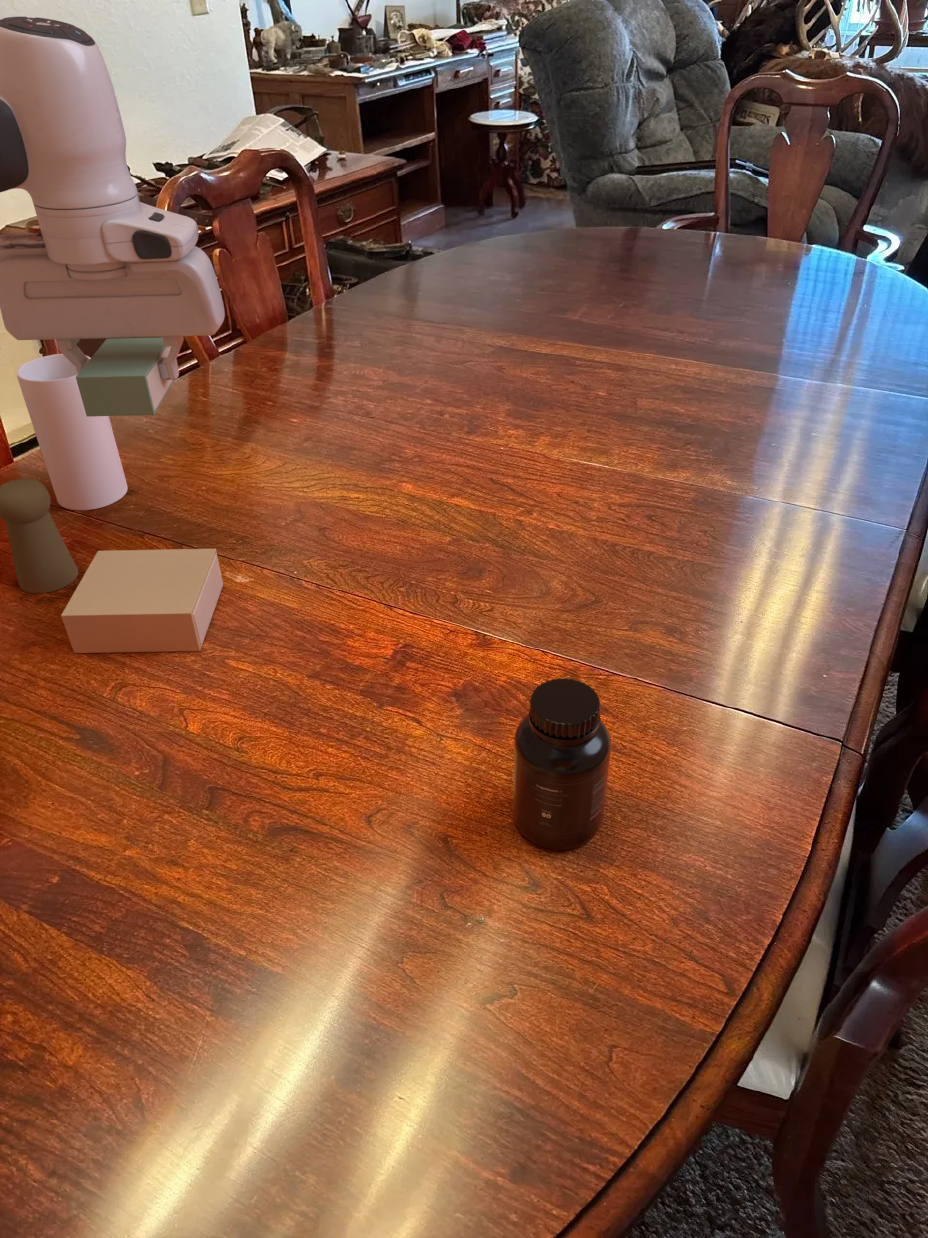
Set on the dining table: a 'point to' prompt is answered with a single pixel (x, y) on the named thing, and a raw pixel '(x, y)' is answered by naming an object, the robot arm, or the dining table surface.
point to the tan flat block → (144, 601)
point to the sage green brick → (124, 378)
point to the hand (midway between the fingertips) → (131, 378)
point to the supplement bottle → (561, 766)
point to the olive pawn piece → (35, 538)
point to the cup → (71, 436)
